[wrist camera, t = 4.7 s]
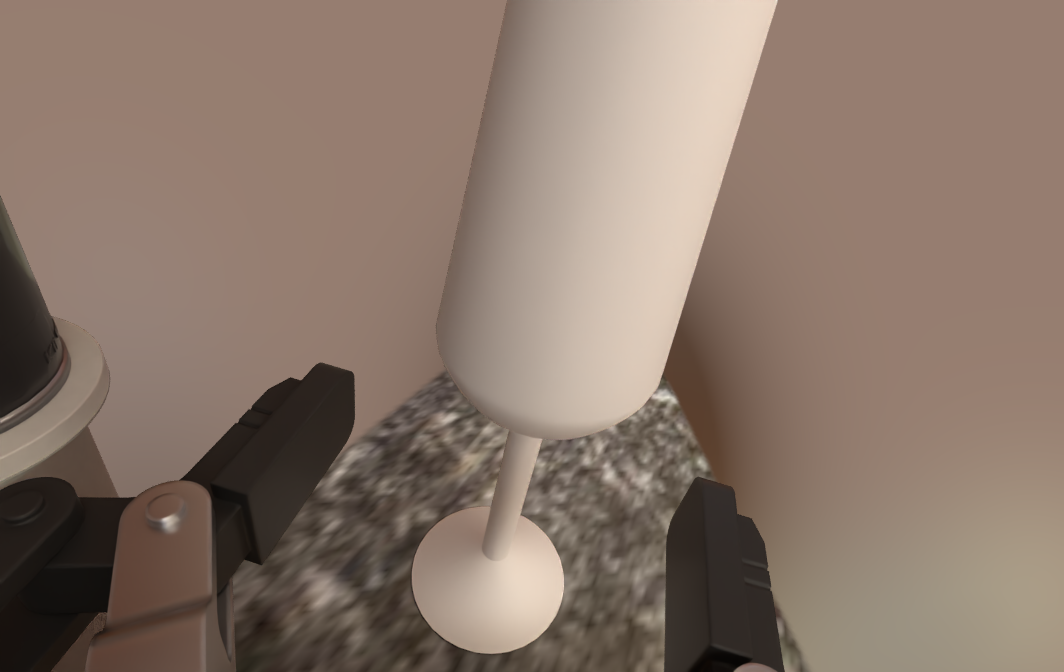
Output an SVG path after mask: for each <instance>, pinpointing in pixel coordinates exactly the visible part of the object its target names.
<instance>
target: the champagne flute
mask: <svg viewBox="0 0 1064 672" xmlns="http://www.w3.org/2000/svg"><path fill="white" fill-rule="evenodd" d="M777 1H778V0H507V4H506V9H505V14H504V18H503V22H502V27H501V31H500V36H499V40H498V45H497V49H496V54H495V58H494V63H493V68H492V72H491V77H490V81H489V86H488V91H487V95H486V100H485V105H484V109H483V113H482V118H481V122H480V127H479V131H478V136H477V141H476V145H475V150H474V154H473V159H472V163H471V168H470V173H469V177H468V182H467V186H466V191H465V195H464V200H463V204H462V209H461V214H460V218H459V223H458V227H457V232H456V236H455V241H454V245H453V250H452V254H451V259H450V264H449V268H448V273H447V277H446V282H445V286H444V291H443V295H442V300H441V305H440V309H439V314H438V318H437V323H436V334H437V343H438V349H439V353H440V355H441V358H442V360H443V363H444V366H445V368H446V369H447V371H448V373H449V374H450V376H451V378H452V380H453V381H454V383H455V384H456V385H457V387H458V388H459V390H460V391H461V392H462V394H463V395H464V396H465V397H466V398H467V399H468V400H469V402H470V403H471V404H472V405H473V406H474V407H475V408H476V409H477V410H479V411H480V412H481V413H482V414H483V415H484V416H485V417H487V418H488V419H490V420H491V421H493V422H494V423H496V424H497V425H499V426H501V427H503V428H506V429H508V430H509V433H508V437H507V441H506V446H505V450H504V454H503V458H502V463H501V467H500V471H499V475H498V480H497V484H496V488H495V492H494V497H493V501H492V505H491V507H488V506H486V507H472V508H468V509H464V510H460V511H458V512H455V513H453V514H451V515H449V516H447V517H446V518H444V519H443V520H441V521H439V522H438V523H437V524H436V525H435V526H434V527H433V528H432V529H431V530H430V531H429V532H428V533H427V534H426V536H425V537H424V539H423V540H422V542H421V543H420V545H419V547H418V550H417V552H416V554H415V557H414V562H413V567H412V588H413V593H414V597H415V601H416V603H417V605H418V608H419V610H420V612H421V614H422V616H423V617H424V619H425V620H426V621H427V623H428V624H429V625H430V626H431V628H432V629H433V630H434V631H435V632H437V633H438V634H439V635H440V636H441V637H442V638H444V639H445V640H447V641H448V642H450V643H452V644H454V645H456V646H457V647H459V648H462V649H466V650H469V651H472V652H475V653H487V654H496V653H504V652H510V651H513V650H515V649H518V648H521V647H524V646H525V645H527V644H529V643H530V642H532V641H534V640H535V639H537V638H538V637H539V636H540V635H541V634H542V633H543V632H544V631H545V630H546V629H547V628H548V627H549V625H550V624H551V622H552V621H553V619H554V618H555V616H556V615H557V612H558V610H559V607H560V604H561V602H562V596H563V590H564V576H563V569H562V565H561V561H560V558H559V556H558V554H557V551H556V549H555V547H554V545H553V544H552V542H551V541H550V540H549V538H548V537H547V535H546V534H545V533H544V532H543V531H542V530H541V529H540V528H539V527H538V526H537V525H535V524H534V523H533V522H531V521H530V520H528V519H527V518H525V517H523V516H521V515H520V514H521V510H522V507H523V503H524V500H525V496H526V493H527V490H528V486H529V483H530V479H531V476H532V472H533V469H534V466H535V462H536V459H537V455H538V452H539V448H540V445H541V442H542V439H546V440H568V439H574V438H579V437H584V436H587V435H590V434H594V433H597V432H599V431H602V430H604V429H607V428H609V427H612V426H614V425H616V424H617V423H619V422H621V421H623V420H624V419H626V418H628V417H629V416H631V415H632V414H633V413H635V412H636V411H638V410H639V409H641V408H642V406H643V405H644V404H645V403H646V402H647V400H648V399H649V398H650V397H651V395H652V394H653V393H654V391H655V390H656V389H657V388H658V385H659V382H660V380H661V377H662V374H663V370H664V367H665V364H666V361H667V358H668V354H669V351H670V347H671V345H672V341H673V338H674V335H675V332H676V328H677V325H678V322H679V319H680V315H681V312H682V309H683V305H684V302H685V299H686V296H687V293H688V289H689V286H690V283H691V280H692V276H693V273H694V270H695V267H696V264H697V260H698V257H699V254H700V251H701V247H702V244H703V241H704V238H705V234H706V231H707V228H708V225H709V221H710V218H711V215H712V212H713V208H714V205H715V202H716V199H717V195H718V192H719V189H720V186H721V182H722V179H723V176H724V173H725V169H726V166H727V163H728V160H729V156H730V153H731V150H732V147H733V144H734V140H735V137H736V134H737V130H738V127H739V124H740V121H741V118H742V114H743V111H744V108H745V105H746V101H747V98H748V95H749V92H750V88H751V85H752V82H753V79H754V75H755V72H756V69H757V66H758V62H759V59H760V56H761V52H762V50H763V46H764V43H765V40H766V37H767V33H768V30H769V27H770V24H771V20H772V17H773V14H774V10H775V7H776V4H777Z"/></svg>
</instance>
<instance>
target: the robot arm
mask: <svg viewBox="0 0 1064 672" xmlns="http://www.w3.org/2000/svg"><path fill="white" fill-rule="evenodd" d="M70 369H71V358H70V354H69V352H68V349H67V347H66V345H65V342H64V340H63V339H62V337H61V336H60V335H59V332H58V329H57V327H56V324H55V322H54V320H53V318H51V315H50V313H49V311H48V309H47V306H46V304H45V301H44V299H43V297H42V294H41V292H40V289H39V286H38V284H37V282H36V279H35V277H34V275H33V272H32V270H31V267H30V265H29V263H28V260H27V258H26V256H25V253H24V251H23V248H22V246H21V244H20V241H19V239H18V236H17V234H16V232H15V229H14V227H13V225H12V222H11V220H10V218H9V215H8V213H7V210H6V208H5V206H4V203H3V201H2V198H1V196H0V434H2V433H4V432H6V431H8V430H10V429H12V428H13V427H15V426H17V425H19V424H20V423H22V422H23V421H25V420H26V419H28V418H30V417H31V416H32V415H34V414H35V413H37V412H38V411H39V410H41V409H42V408H43V407H44V406H45V405H46V404H48V403H49V402H50V401H51V400H52V399H53V398H54V397H55V396H56V394H57V393H58V392H59V391H60V390H61V388H62V387H63V385H64V384H65V382H66V380H67V378H68V376H69V373H70ZM354 392H355V390H354V374H353V372H351V371H348V370H345V369H341V368H338V367H334V366H331V365H328V364H325V363H318V364H317V365H315V366H314V367H313V368H312V369H311V371H310V372H309V373H308V374H307V375H306V376H305V377H304V378H303V379H302V380H297V379H294V378H288V379H287V380H285V381H283V382H281V383H279V384H277V385H275V386H274V387H272V388H270V389H268V390H267V391H266V392H265V393H264V394H263V395H262V396H261V397H260V398H259V399H258V400H257V401H256V402H255V403H254V404H253V406H252V408H251V410H248V411H247V412H246V413H245V414H244V415H243V416H242V417H241V418H240V419H239V422H238V423H235V424H234V425H233V426H232V427H231V428H230V429H229V431H228V432H227V433H226V434H225V435H224V436H223V437H222V438H221V439H220V440H219V441H218V442H217V443H216V444H215V445H214V446H213V447H212V448H211V449H210V450H209V452H207V453H206V454H205V456H204V457H203V458H202V459H201V460H200V461H199V462H198V463H197V464H196V465H195V466H194V467H193V468H192V469H191V470H190V471H189V472H188V473H187V474H186V475H185V476H184V477H183V478H181V479H180V480H179V481H170V482H166V483H162V484H159V485H156V486H153V487H151V488H149V489H147V490H145V491H144V492H142V493H141V494H139V495H138V496H137V497H131V498H87V497H78V496H77V494H76V492H75V490H74V488H73V487H72V485H71V484H70V483H68V482H66V481H65V480H62V479H59V478H53V477H41V478H33V479H28V480H24V481H21V482H18V483H15V484H13V485H10V486H8V487H6V488H4V489H2V490H0V672H50V671H51V670H52V669H53V668H54V666H55V665H56V664H57V663H58V661H59V660H60V659H61V658H62V657H63V655H64V654H65V653H66V652H67V650H68V649H69V648H70V647H71V646H72V644H73V643H74V642H75V641H76V639H77V638H78V637H79V636H80V635H81V633H82V632H83V631H84V630H85V628H86V627H87V626H88V625H89V624H90V622H91V621H92V620H93V619H94V618H95V616H96V615H97V614H98V613H99V612H107V619H106V624H105V627H104V629H103V631H102V632H99V633H97V634H95V635H94V637H93V638H92V640H91V643H90V646H89V649H88V654H87V659H86V666H85V672H236V664H235V635H234V606H233V580H232V576H233V574H234V573H235V571H236V570H237V569H238V567H239V566H240V565H241V563H242V562H243V560H247V561H251V562H254V563H257V564H260V565H262V564H263V563H264V561H265V560H266V558H267V557H268V556H269V554H270V553H271V551H272V550H273V548H274V547H275V545H276V544H277V542H278V541H279V540H280V538H281V537H282V535H283V534H284V532H285V531H286V529H287V528H288V527H289V525H290V524H291V522H292V521H293V519H294V518H295V516H296V515H297V513H298V512H299V511H300V509H301V508H302V506H303V505H304V503H305V502H306V500H307V499H308V498H309V496H310V495H311V493H312V492H313V490H314V489H315V487H316V486H317V484H318V483H319V482H320V480H321V479H322V477H323V476H324V474H325V473H326V471H327V470H328V469H329V467H330V466H331V464H332V463H333V461H334V460H335V458H336V457H337V455H338V454H339V453H340V451H341V450H342V448H343V447H344V445H345V444H346V442H347V440H348V439H349V436H350V434H351V432H352V428H353V425H354V420H355V393H354ZM767 568H768V563H767V556H766V550H765V543H764V541H763V539H762V537H761V535H760V533H759V531H758V530H757V528H756V526H755V524H754V522H753V520H752V519H751V518H748V517H745V516H742V515H739V514H737V508H736V499H735V492H734V489H733V488H732V487H731V486H727V485H724V484H721V483H717V482H714V481H711V480H707V479H704V478H701V477H697V478H695V480H694V481H693V483H692V484H691V486H690V488H689V489H688V491H687V493H686V495H685V496H684V498H683V500H682V501H681V503H680V505H679V507H678V508H677V510H676V512H675V514H674V515H673V517H672V520H671V522H670V526H669V529H668V534H667V542H666V598H665V662H664V672H785V671H784V666H783V660H782V654H781V647H780V641H779V634H778V628H777V621H776V615H775V608H774V602H773V595H772V591H770V588H771V582H770V576H769V571H767Z"/></svg>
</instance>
